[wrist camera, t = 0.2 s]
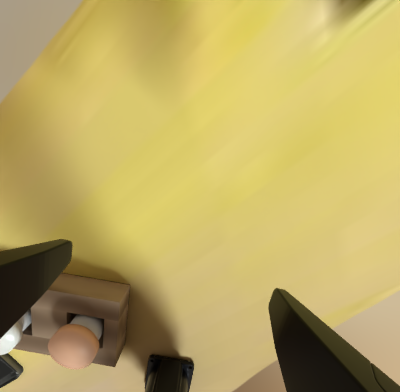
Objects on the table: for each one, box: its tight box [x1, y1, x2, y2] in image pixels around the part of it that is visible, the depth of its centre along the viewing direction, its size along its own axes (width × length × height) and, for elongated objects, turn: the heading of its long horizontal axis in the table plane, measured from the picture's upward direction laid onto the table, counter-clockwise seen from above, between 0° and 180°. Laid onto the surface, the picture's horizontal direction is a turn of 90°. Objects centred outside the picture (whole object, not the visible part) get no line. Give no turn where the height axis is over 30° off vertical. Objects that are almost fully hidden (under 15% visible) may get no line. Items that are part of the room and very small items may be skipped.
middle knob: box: [0, 308, 32, 355], centre depth 24 cm, size 5×5×4 cm
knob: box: [48, 314, 104, 369], centre depth 24 cm, size 5×5×4 cm
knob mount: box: [13, 273, 130, 367], centre depth 26 cm, size 10×26×3 cm, turn 81°
